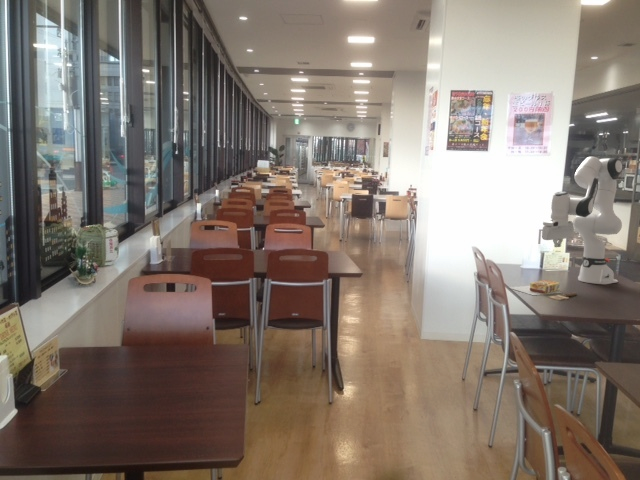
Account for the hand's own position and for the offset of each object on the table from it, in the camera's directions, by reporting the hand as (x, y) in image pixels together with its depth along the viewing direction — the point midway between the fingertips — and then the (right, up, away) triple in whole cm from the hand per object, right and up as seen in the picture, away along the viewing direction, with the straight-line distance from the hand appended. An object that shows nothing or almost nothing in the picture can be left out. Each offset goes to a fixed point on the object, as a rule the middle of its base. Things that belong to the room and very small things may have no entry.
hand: (557, 247), depth 320 cm
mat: (-15, -23, -7) cm, 28 cm away
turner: (-5, -25, -21) cm, 34 cm away
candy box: (-4, -20, -3) cm, 21 cm away
